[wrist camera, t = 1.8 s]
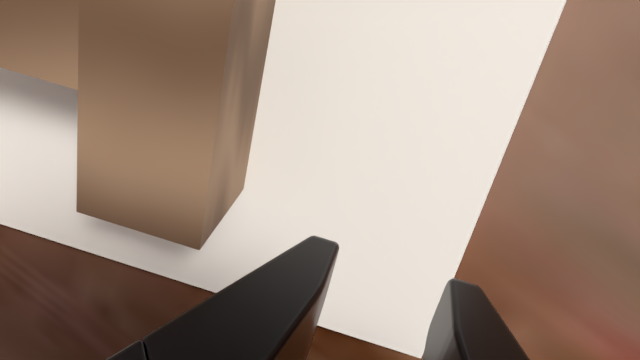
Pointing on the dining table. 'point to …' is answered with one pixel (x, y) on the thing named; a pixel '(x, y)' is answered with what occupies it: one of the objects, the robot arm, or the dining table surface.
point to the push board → (325, 154)
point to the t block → (151, 101)
